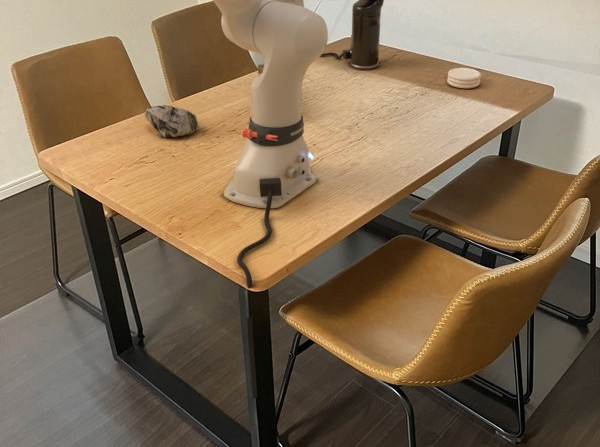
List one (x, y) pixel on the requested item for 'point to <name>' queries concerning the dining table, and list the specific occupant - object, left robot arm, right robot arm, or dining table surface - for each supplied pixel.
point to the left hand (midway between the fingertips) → (267, 37)
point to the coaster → (464, 78)
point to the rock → (171, 120)
